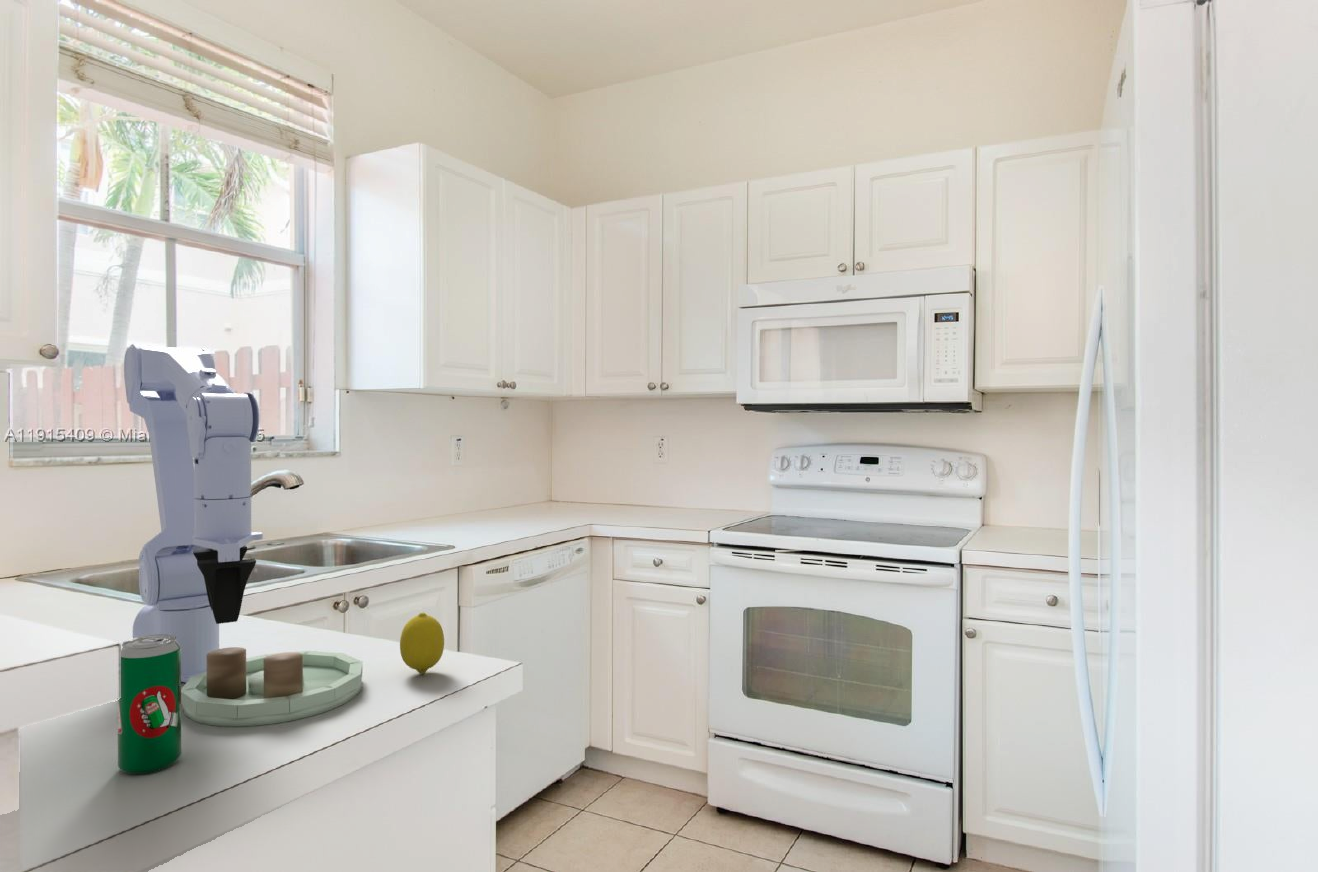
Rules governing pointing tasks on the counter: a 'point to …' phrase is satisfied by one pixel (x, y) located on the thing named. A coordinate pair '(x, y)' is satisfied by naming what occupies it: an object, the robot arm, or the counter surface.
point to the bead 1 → (226, 673)
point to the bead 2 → (283, 674)
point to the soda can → (149, 704)
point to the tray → (323, 690)
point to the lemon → (422, 642)
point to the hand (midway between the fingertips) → (223, 614)
